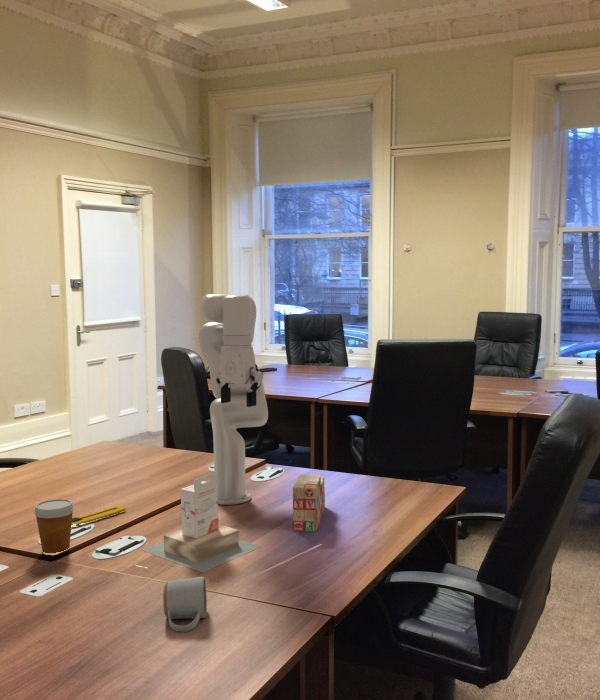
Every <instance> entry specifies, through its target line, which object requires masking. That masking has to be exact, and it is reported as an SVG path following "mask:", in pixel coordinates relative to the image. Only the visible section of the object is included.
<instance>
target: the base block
mask: <svg viewBox="0 0 600 700" xmlns="http://www.w3.org/2000/svg"><path fill="white" fill-rule="evenodd" d="M218 525H219V528H218V529H216V530H214V531H212V532H210V533H207V534H205V535H203V536H201V537H198V538H192V537H189V536H185V535H182V528H180V529H177V530H174V531H172V532H168V533H166V534H163V542H164V551H165V552H168V553H171V554H174V555H177V556H179V557H182V558H185V559H188V560H191V561H193V562H196V563H198V562H201V561H203V560H206V559H208V558H210V557H213V556H215V555H218V554H220V553H222V552H225V551H227V550H230V549H232V548H234V547H237V546H239V540H240V537H239V536H240V534H239V533H240V530H239V529H236V528H232V527H229V526H227V525H222V524H220V523H218Z"/></svg>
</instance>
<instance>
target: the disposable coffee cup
mask: <svg viewBox="0 0 600 700" xmlns="http://www.w3.org/2000/svg"><path fill="white" fill-rule="evenodd" d="M74 510H75V505H74V504H73V501H72V500H70V499H67V498H53V499H48V500H43V501H40V502H38V503H36V504H35V507H34V510H33V514H34V516H35V518H36V522H37V528H38V534H39V539H40V545H41V551H43V552H45V553H56V552H61V551H64V550H66V549H68V548H69V549H70V546H71V544H70V543H71V534H72V529H71V524H72V518H73V512H74ZM43 552H42V553H43Z"/></svg>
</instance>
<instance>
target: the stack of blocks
mask: <svg viewBox="0 0 600 700" xmlns="http://www.w3.org/2000/svg"><path fill="white" fill-rule="evenodd" d="M325 489H326V488H325V477H324V476H321V475H320V474H299V475H298V477H297V479H296V481H295V482H294V484H293V486H292V515H293V516H292V518H293V519H292V531H293V532H308V533H317V529H318V528H319V525H320V523H321V518H322V515H323V513H324V510H325V507H326V506H325V505H326V503H325V501H326V500H325V499H326V495H325V494H326V492H325Z"/></svg>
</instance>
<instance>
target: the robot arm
mask: <svg viewBox="0 0 600 700" xmlns="http://www.w3.org/2000/svg"><path fill="white" fill-rule="evenodd" d="M200 314H201V317H202V319H203V322H206V323H205V324H203V325H202V326H200V328H199V332H198V342H199V347H200V350H201V353H202V356H203V358H204V359H205V361H206V363H207V365H208V367H209V376H210V383H211V384H210V385H211V389H212V395H213V396H214V397H215V399H214V400H213V401H212V402H211V403H210V407H209V415H210V421H211V428H212V437H213V438H212V440H213V473H214V472H215V473H216V479H217V488H218V505H238V504H244V503H246V502H248V501H250V500H251V497H252V494H251V493H250V492H249V491H248V490H246V487H247V486H246V484H247V483H246V482H247V481H246V443H245V442H246V441H245V440H244V438H243V436H242V435H241V434H240V432H239V431H237V429H241V428H257V427H263V426H264V425H266V424H267V421H268V419H269V409H268V403H267V398H266V393H265V388H264V382H263V379H264V376H263V375H262V374H261V373H260V372H258V371H257V370H256V357H255V352H254V348H253V346H252V343H253V340H254V335H255V330H256V329H255V328H256V321H257V305H256V302H255V300H254V299H253V298H251V296H249V295H248V294H245V293H217V294H215V293H214V294H213V293H212V294H211V293H210V294H205V295H204V296H203V297H202V298H201V301H200Z"/></svg>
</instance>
